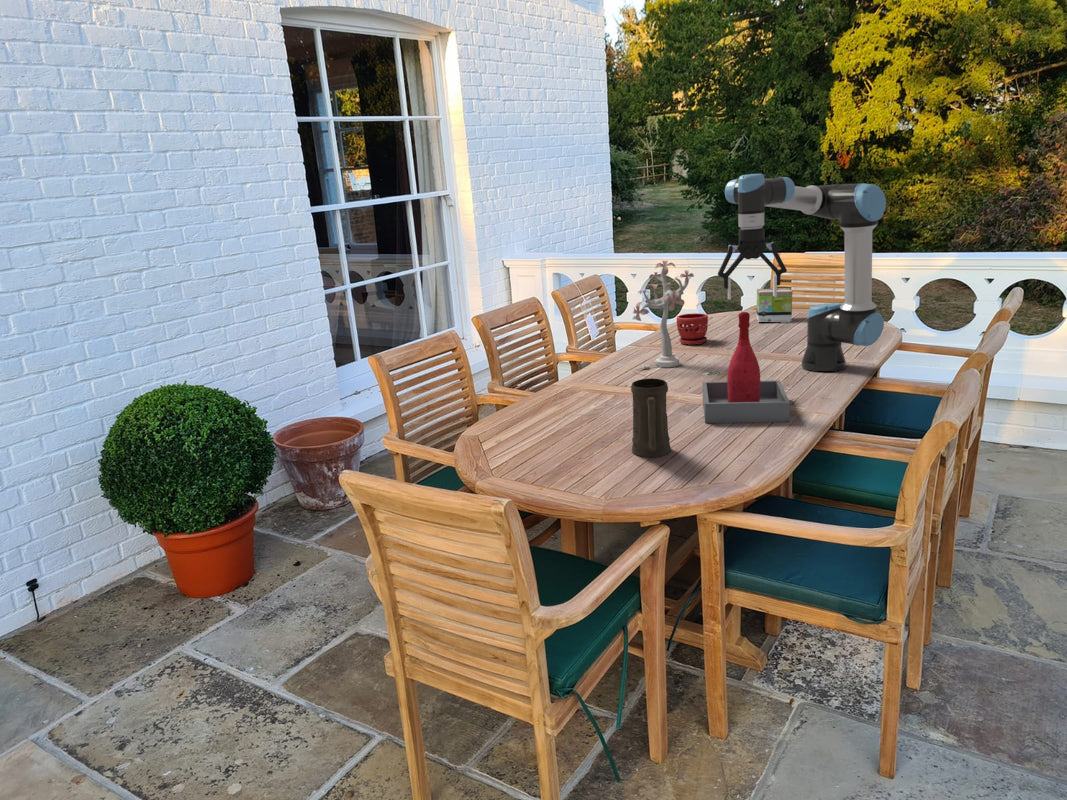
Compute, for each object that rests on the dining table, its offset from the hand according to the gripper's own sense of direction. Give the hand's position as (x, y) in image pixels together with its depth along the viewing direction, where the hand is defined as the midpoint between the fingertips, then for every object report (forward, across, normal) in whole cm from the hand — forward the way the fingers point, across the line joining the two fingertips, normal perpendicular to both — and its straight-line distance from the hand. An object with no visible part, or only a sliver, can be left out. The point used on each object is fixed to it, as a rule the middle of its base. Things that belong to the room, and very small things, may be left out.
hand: (752, 297), depth 247 cm
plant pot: (+36, -16, +89) cm, 97 cm away
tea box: (+37, +22, +129) cm, 136 cm away
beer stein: (+33, -31, -45) cm, 64 cm away
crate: (+34, -4, -7) cm, 35 cm away
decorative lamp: (+35, -29, +51) cm, 68 cm away
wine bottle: (+33, -4, -7) cm, 34 cm away
